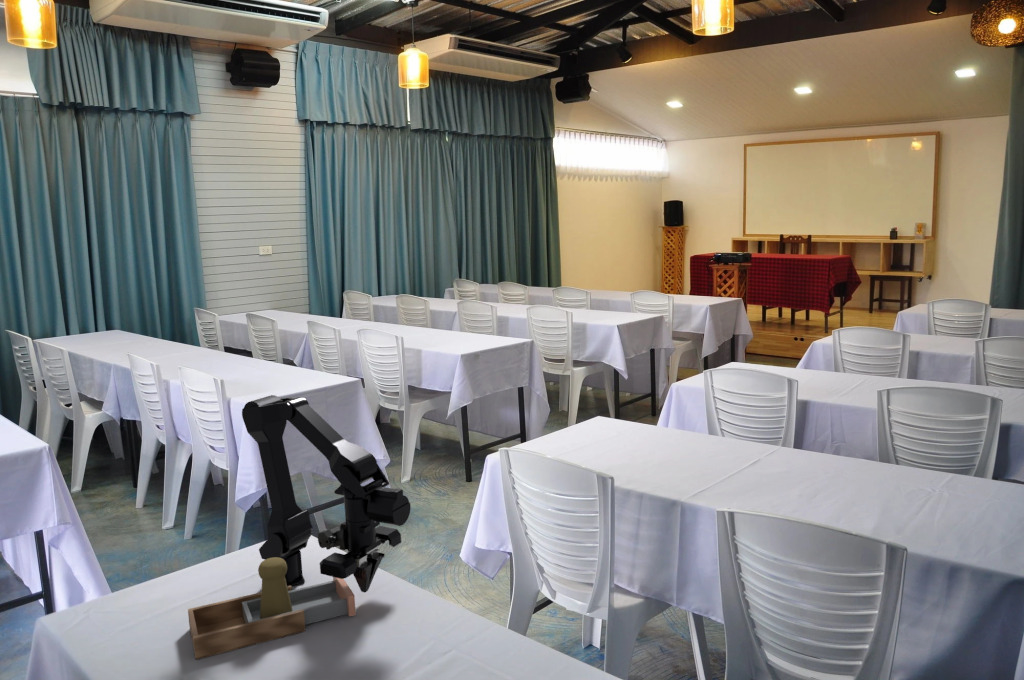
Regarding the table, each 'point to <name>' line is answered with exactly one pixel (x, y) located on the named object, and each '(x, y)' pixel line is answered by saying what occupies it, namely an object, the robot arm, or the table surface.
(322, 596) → the tray
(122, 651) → the table surface
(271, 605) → the olive pawn figure
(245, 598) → the brown wooden box
